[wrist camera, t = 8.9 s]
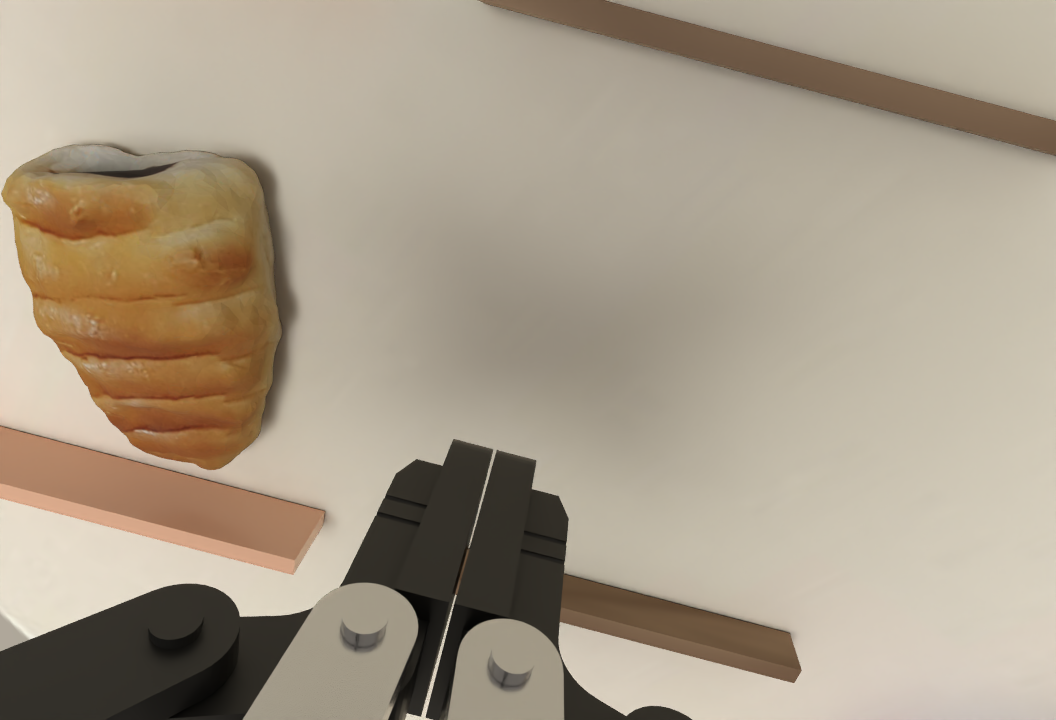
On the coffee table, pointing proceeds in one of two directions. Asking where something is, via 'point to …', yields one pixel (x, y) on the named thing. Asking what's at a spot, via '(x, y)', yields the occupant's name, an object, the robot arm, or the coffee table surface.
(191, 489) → the terracotta pen
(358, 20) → the coffee table surface
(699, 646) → the walnut chute
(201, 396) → the pastry
